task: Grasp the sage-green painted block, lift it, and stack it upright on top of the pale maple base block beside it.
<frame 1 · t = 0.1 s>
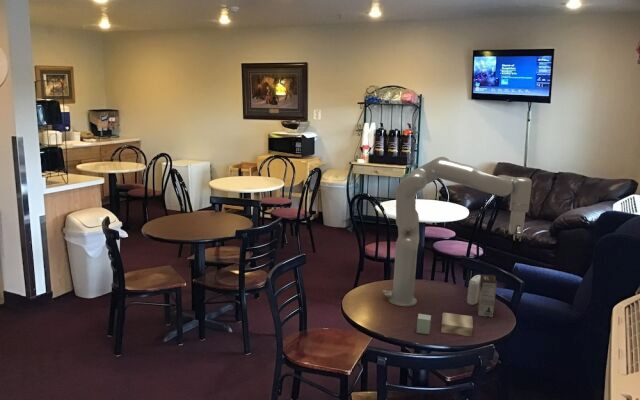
hand: (514, 246, 236), 31 cm above the table, fingers open, 9 cm apart
photo printer: (474, 301, 257), on the table
coffee box: (484, 313, 244), on the table
sage block: (423, 330, 223), on the table
maple base: (456, 329, 227), on the table
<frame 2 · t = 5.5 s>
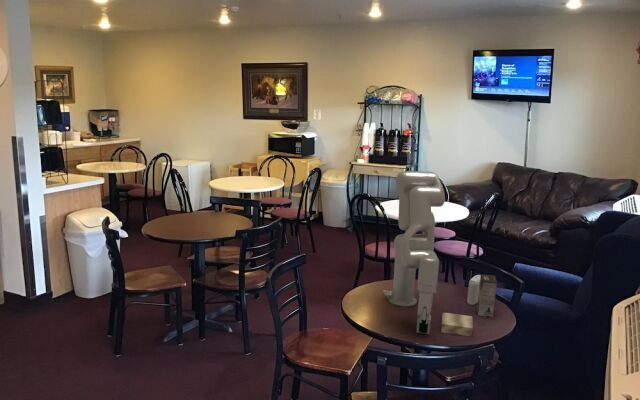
hand: (423, 329, 223), 1 cm above the table, fingers closed on sage block, 5 cm apart
sage block: (423, 330, 223), on the table, touching gripper
everything else where it was.
when the fingers open (6 cm above the table, at t = 12.5 s): sage block drops 2 cm, point 4 cm above the table.
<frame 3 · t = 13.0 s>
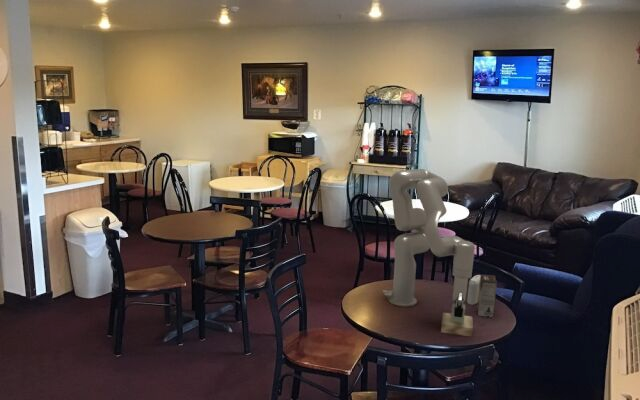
hand: (458, 312, 225), 7 cm above the table, fingers open, 9 cm apart
sage block: (457, 319, 226), point 4 cm above the table
everything else where it was.
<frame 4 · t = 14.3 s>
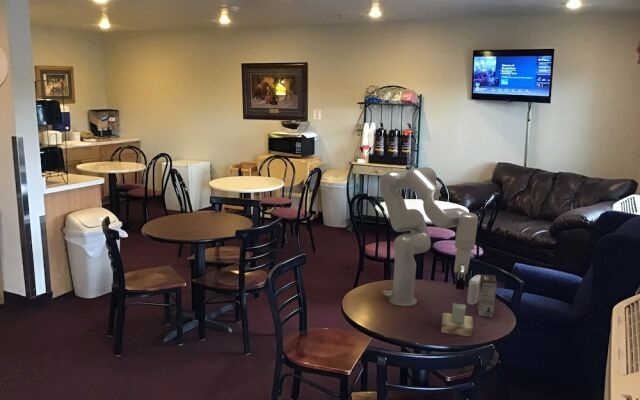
hand: (459, 284, 224), 19 cm above the table, fingers open, 9 cm apart
nothing on the table moved.
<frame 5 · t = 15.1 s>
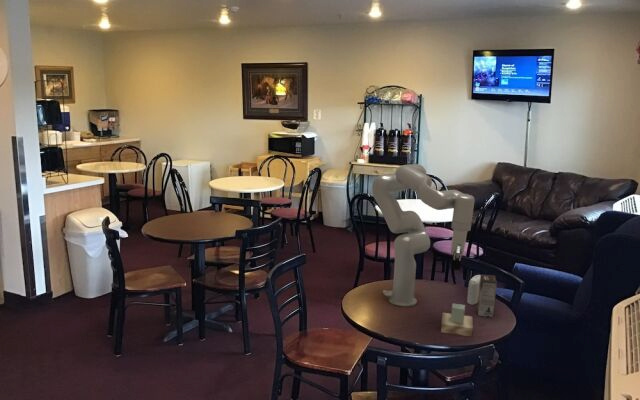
hand: (455, 265, 226), 25 cm above the table, fingers open, 9 cm apart
nothing on the table moved.
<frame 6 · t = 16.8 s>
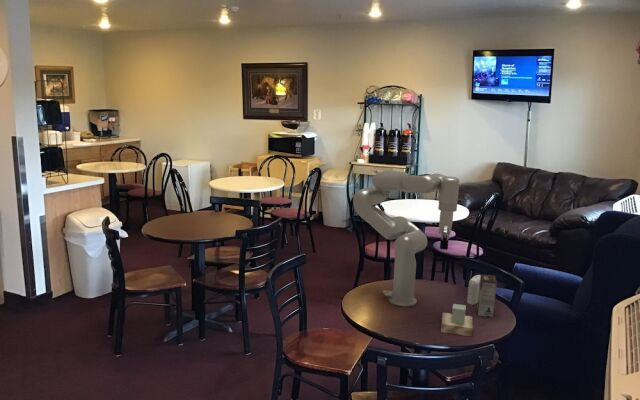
hand: (444, 246, 235), 30 cm above the table, fingers open, 9 cm apart
sage block: (458, 320, 226), point 3 cm above the table, touching maple base
maple base: (456, 329, 227), on the table, touching sage block
everything else where it was.
at the end: sage block inside the target area on the maple base (0.6 cm from its centre), point 4.0 cm above the maple base's base; sage block tilted 1°; the gripper is holding nothing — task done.
